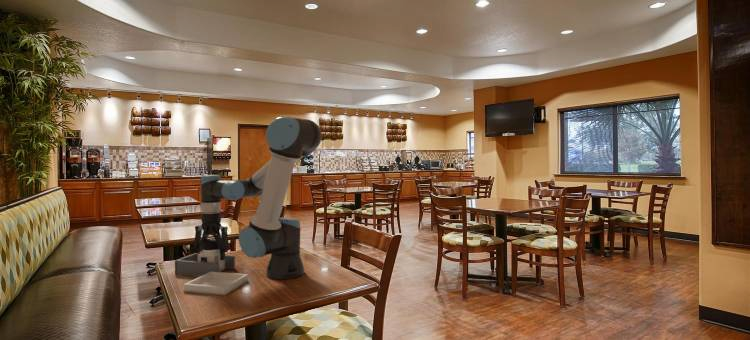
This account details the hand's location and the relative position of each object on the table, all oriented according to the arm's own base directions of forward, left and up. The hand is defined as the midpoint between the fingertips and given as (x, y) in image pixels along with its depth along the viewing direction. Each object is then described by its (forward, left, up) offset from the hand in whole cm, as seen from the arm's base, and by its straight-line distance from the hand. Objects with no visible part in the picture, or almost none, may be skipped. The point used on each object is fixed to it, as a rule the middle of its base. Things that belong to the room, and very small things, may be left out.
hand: (211, 267), depth 164 cm
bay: (+3, 0, -2) cm, 3 cm away
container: (0, 0, -2) cm, 2 cm away
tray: (-13, +15, -2) cm, 20 cm away
